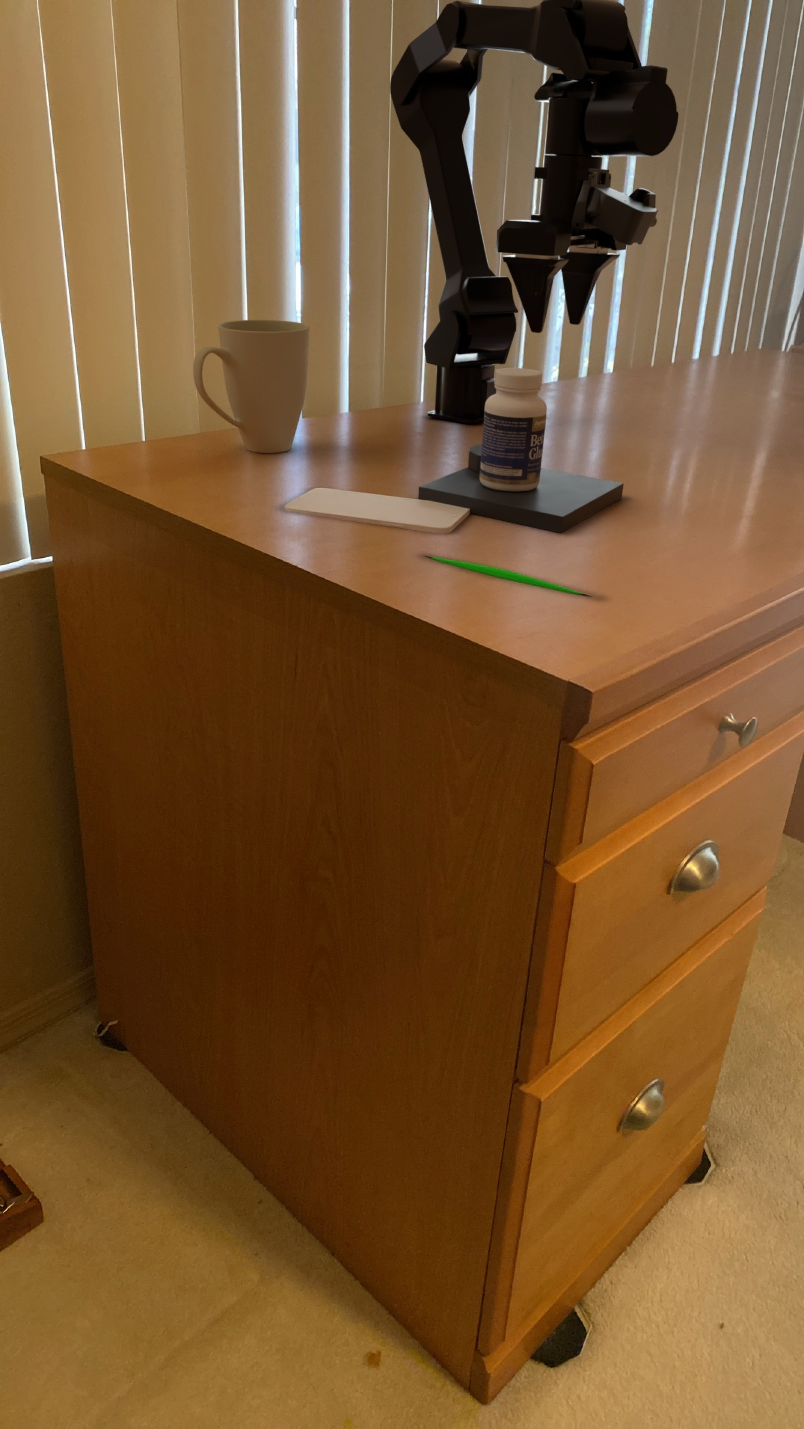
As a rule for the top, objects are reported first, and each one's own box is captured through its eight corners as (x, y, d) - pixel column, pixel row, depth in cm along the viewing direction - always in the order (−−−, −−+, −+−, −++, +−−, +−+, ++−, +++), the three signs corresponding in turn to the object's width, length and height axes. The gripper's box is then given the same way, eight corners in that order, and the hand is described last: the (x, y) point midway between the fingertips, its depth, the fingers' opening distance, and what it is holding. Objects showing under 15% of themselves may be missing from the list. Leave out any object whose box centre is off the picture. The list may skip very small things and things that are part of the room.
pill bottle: (536, 495, 85) (548, 378, 80) (475, 490, 86) (483, 374, 81) (541, 479, 90) (552, 368, 85) (483, 474, 90) (491, 363, 86)
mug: (234, 434, 107) (228, 317, 102) (321, 441, 106) (320, 322, 100) (195, 457, 98) (186, 330, 92) (290, 466, 96) (287, 336, 91)
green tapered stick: (425, 559, 75) (425, 548, 75) (595, 600, 69) (597, 589, 68) (418, 562, 74) (419, 551, 74) (590, 604, 68) (592, 593, 68)
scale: (412, 500, 87) (414, 467, 86) (486, 470, 97) (488, 439, 96) (561, 533, 80) (565, 497, 79) (624, 496, 90) (628, 464, 89)
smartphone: (316, 486, 90) (473, 505, 85) (316, 494, 90) (472, 514, 86) (280, 507, 83) (447, 529, 79) (280, 516, 84) (447, 538, 79)
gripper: (613, 153, 84) (591, 346, 91) (686, 161, 98) (661, 327, 105) (499, 151, 89) (487, 334, 97) (583, 159, 103) (567, 318, 110)
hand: (556, 328), depth 102 cm, fingers open, 9 cm apart
